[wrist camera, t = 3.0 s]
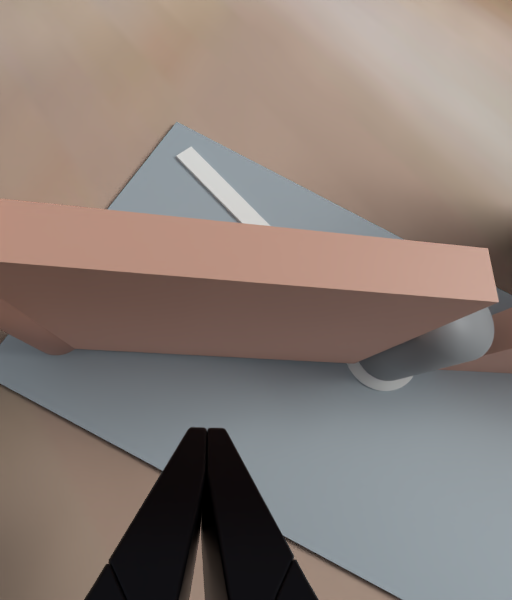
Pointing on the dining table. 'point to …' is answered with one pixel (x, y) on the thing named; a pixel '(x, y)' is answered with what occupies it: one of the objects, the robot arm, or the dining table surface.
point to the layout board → (307, 409)
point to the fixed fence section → (494, 349)
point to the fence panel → (239, 290)
